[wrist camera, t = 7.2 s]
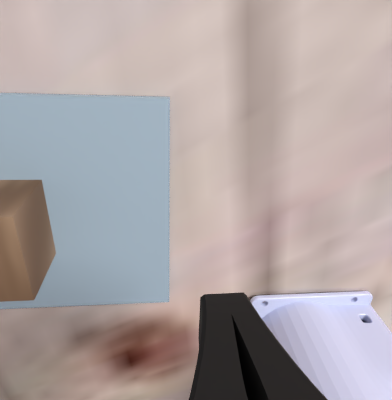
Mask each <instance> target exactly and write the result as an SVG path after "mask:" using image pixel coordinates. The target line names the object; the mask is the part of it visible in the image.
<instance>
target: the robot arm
mask: <svg viewBox="0 0 392 400" xmlns="http://www.w3.org/2000/svg"><path fill="white" fill-rule="evenodd" d="M372 298H373V296H372V295H371V293H370V292H368V291H356V292H332V293H308V294H284V295H260V296H254V297H252V298H251V300H249V299H248V297H247V296H246V295H245V294H244V293H226V294H205V295H203V296H202V297H201V300H200V320H199V354H198V360H197V365H196V370H195V375H194V380H193V385H192V389H191V393H190V398H189V400H392V333H391V331H390V330H389V329H388V327H387V326H386V325H385V323H384V322H383V321H382V319H381V318H380V317H379V316H378V314H377V313H376V312H375V310H374V309H373V308H372V306H371V305H370V304H371V301H372ZM264 301H265V302H264ZM262 302H263V303H262Z"/></svg>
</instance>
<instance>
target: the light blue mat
mask: <svg viewBox="0 0 392 400" xmlns="http://www.w3.org/2000/svg"><path fill="white" fill-rule="evenodd" d="M169 148H170V98H169V97H156V96H113V95H69V94H26V93H0V180H42V184H43V189H44V194H45V199H46V204H47V209H48V214H49V219H50V224H51V229H52V235H53V240H54V245H55V250H56V255H55V257H54V259H53V261H52V263H51V265H50V267H49V270H48V272H47V274H46V276H45V278H44V280H43V283H42V285H41V287H40V289H39V291H38V293H37V295H36V298H35V300H30V301H5V302H0V309H13V308H36V307H60V306H84V305H107V304H131V303H154V302H169Z"/></svg>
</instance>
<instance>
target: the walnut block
mask: <svg viewBox="0 0 392 400" xmlns="http://www.w3.org/2000/svg"><path fill="white" fill-rule="evenodd" d="M55 255H56V250H55V245H54V240H53V235H52V229H51V224H50V219H49V214H48V209H47V204H46V199H45V194H44V189H43V184H42V180H0V302H5V301H30V300H35V298H36V295H37V293H38V291H39V289H40V287H41V285H42V283H43V280H44V278H45V276H46V274H47V272H48V270H49V267H50V265H51V263H52V261H53V259H54V257H55Z"/></svg>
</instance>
